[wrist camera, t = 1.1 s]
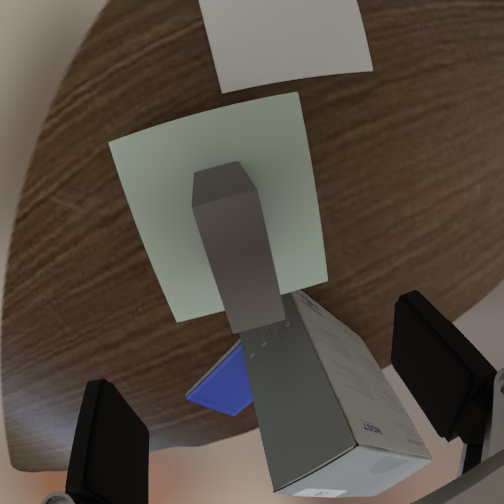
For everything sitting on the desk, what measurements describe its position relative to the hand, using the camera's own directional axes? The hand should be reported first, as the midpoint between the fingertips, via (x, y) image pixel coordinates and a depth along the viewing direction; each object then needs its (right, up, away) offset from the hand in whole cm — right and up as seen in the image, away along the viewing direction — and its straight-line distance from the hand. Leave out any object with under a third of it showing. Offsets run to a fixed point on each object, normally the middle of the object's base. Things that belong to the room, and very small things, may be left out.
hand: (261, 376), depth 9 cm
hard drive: (-2, -12, +30) cm, 33 cm away
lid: (-2, +7, +13) cm, 15 cm away
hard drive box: (+6, -5, +28) cm, 29 cm away
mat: (+3, +24, +12) cm, 27 cm away
